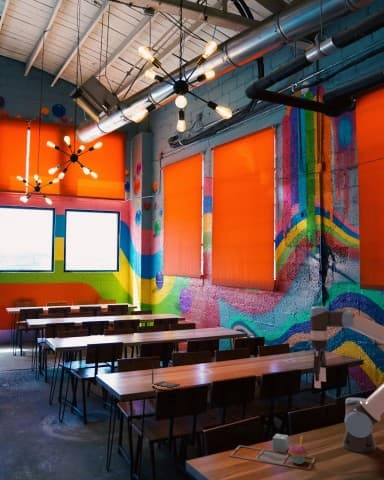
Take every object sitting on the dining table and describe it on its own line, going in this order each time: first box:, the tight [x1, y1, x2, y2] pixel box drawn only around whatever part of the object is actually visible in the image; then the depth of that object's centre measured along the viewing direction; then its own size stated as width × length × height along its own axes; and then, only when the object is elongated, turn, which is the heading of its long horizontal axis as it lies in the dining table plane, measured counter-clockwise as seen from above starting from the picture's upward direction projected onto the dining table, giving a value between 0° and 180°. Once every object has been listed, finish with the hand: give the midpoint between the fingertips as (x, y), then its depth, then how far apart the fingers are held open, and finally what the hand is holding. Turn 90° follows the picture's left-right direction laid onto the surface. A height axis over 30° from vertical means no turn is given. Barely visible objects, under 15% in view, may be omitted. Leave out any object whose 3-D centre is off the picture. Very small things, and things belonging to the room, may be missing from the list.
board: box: [228, 444, 317, 471], centre depth 215 cm, size 14×37×1 cm, turn 64°
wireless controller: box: [151, 364, 181, 388], centre depth 342 cm, size 20×14×17 cm
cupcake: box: [287, 435, 309, 465], centre depth 210 cm, size 9×8×12 cm
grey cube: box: [272, 433, 290, 453], centre depth 225 cm, size 6×6×6 cm
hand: (320, 384), depth 221 cm, fingers open, 13 cm apart
